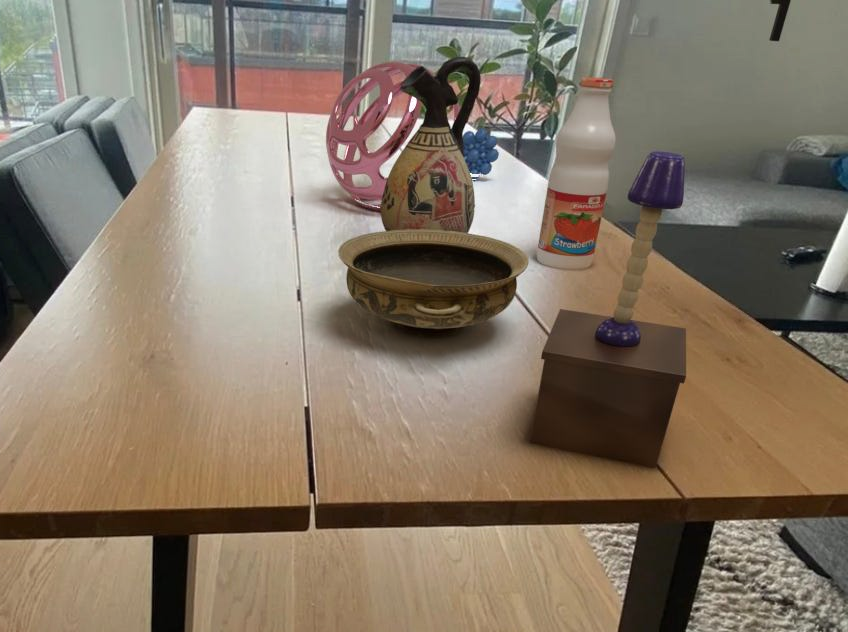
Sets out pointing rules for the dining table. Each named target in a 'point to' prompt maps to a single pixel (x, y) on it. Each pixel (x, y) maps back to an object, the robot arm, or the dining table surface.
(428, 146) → the ceramic jug
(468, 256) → the ceramic bowl
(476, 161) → the grapes
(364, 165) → the spiral basket
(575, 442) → the brown wooden box
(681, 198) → the toy lamp
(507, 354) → the dining table surface
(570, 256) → the fruit juice
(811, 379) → the dining table surface
